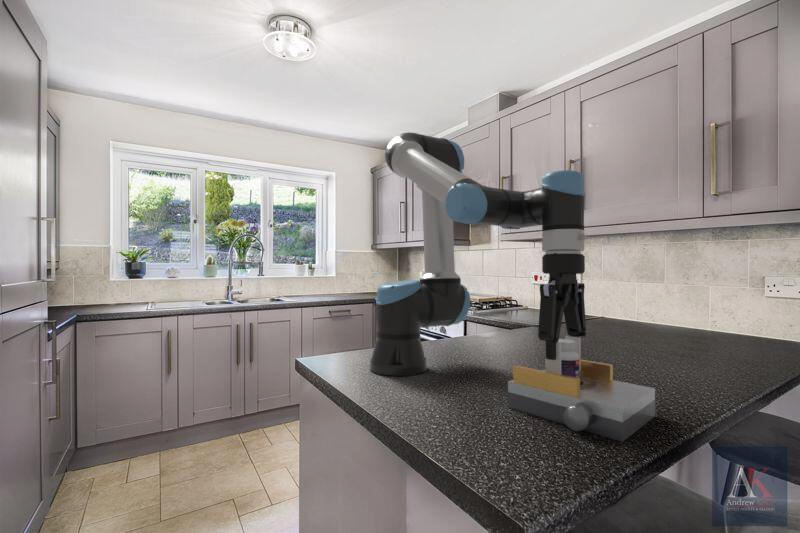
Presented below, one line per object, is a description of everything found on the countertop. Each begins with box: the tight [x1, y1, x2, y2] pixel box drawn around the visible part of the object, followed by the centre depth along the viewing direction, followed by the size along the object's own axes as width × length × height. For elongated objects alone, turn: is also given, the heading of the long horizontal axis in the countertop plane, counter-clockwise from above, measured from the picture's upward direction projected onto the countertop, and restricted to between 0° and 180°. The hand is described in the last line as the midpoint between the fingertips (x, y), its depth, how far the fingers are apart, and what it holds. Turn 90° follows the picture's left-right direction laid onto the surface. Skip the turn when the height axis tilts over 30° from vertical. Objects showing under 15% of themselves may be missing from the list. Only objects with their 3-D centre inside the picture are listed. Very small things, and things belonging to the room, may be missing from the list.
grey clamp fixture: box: [507, 359, 656, 443], centre depth 71 cm, size 20×19×8 cm
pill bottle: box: [558, 338, 579, 378], centre depth 75 cm, size 5×5×10 cm
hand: (563, 372), depth 75 cm, fingers open, 7 cm apart
